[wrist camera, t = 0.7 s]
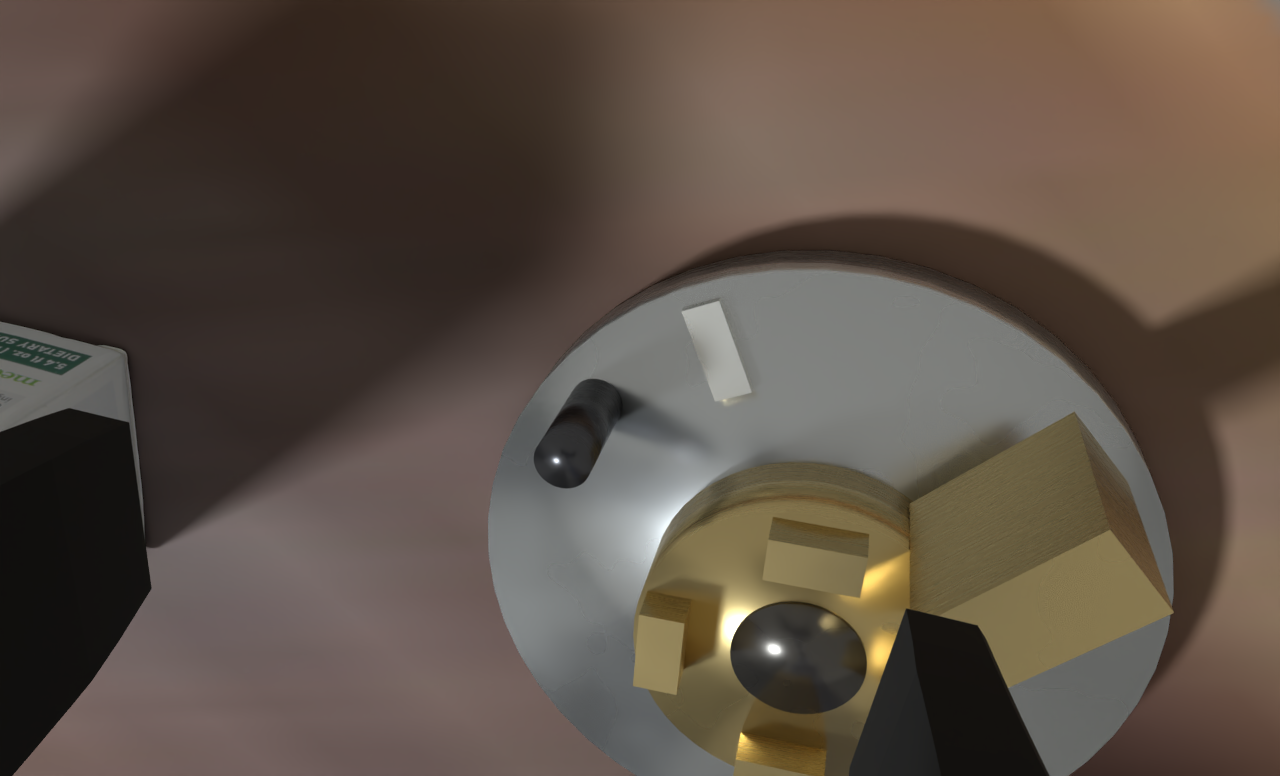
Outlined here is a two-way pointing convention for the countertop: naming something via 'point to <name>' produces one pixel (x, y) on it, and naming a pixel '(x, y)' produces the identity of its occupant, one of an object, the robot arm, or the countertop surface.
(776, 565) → the gold lugged disc
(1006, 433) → the cap plate
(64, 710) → the robot arm
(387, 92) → the countertop surface
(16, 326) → the syrup box
